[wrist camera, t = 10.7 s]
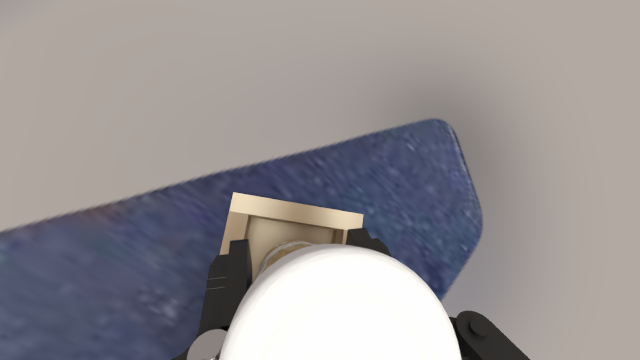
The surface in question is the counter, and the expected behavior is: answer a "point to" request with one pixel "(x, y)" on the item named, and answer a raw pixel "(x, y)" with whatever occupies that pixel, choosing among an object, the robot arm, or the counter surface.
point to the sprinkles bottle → (338, 309)
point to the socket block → (283, 225)
